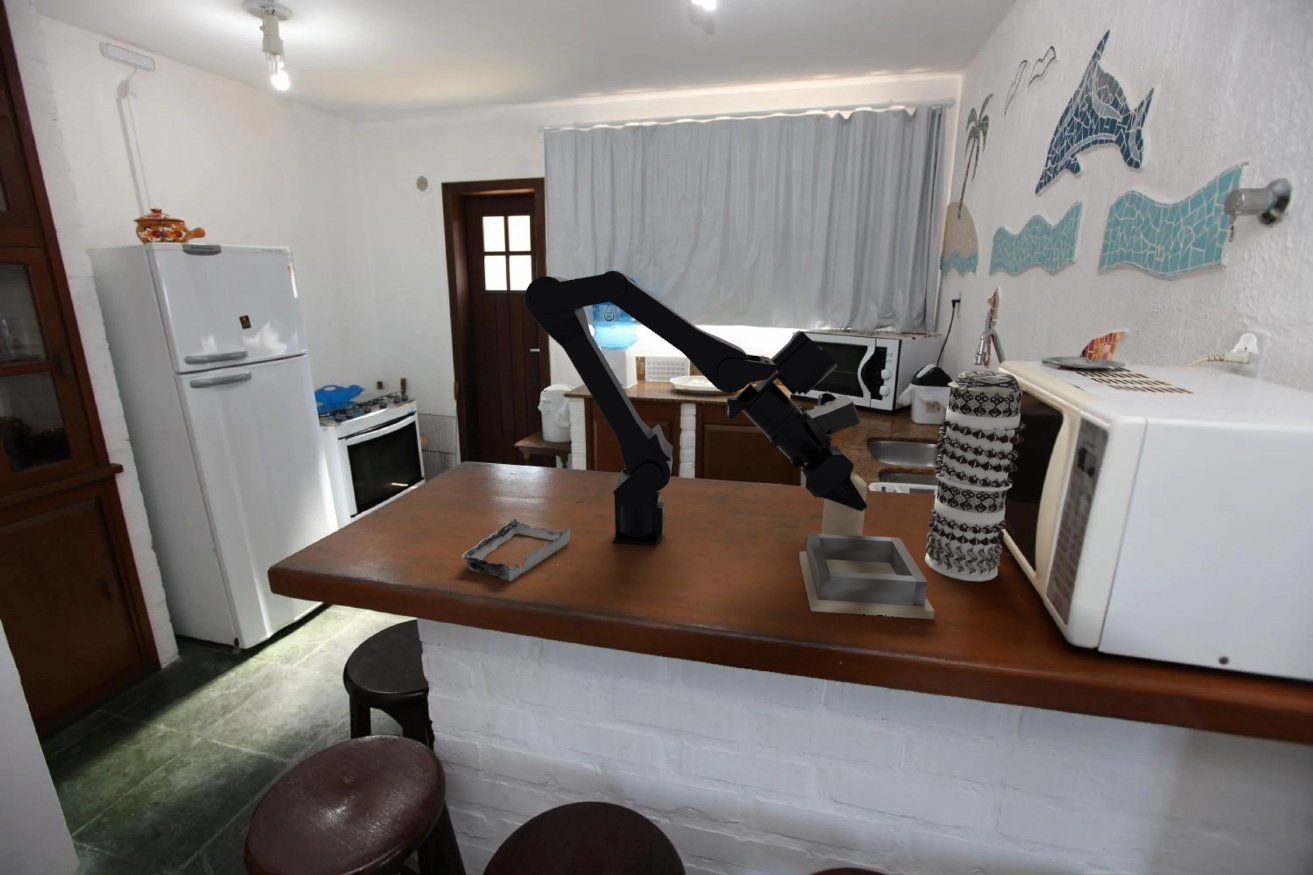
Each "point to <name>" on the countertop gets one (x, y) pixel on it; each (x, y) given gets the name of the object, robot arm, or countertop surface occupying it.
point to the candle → (844, 514)
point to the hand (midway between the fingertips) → (855, 496)
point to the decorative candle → (974, 475)
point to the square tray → (863, 576)
